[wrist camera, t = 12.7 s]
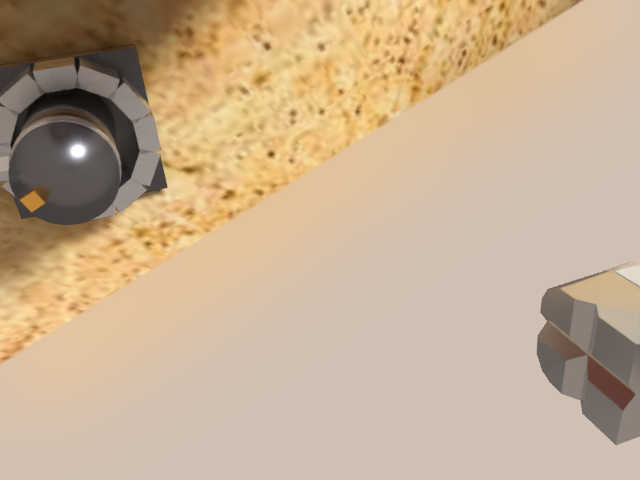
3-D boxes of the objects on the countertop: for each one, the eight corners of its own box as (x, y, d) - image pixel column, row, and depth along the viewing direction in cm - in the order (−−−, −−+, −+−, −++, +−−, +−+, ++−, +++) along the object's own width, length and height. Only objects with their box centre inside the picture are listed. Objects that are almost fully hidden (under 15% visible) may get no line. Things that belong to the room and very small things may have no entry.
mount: (134, 44, 36) (140, 55, 33) (165, 182, 41) (173, 203, 38) (-30, 69, 34) (-40, 84, 31) (23, 212, 38) (18, 238, 35)
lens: (78, 68, 35) (74, 105, 28) (135, 140, 38) (144, 190, 31) (2, 118, 35) (-21, 167, 28) (64, 186, 38) (57, 247, 31)
